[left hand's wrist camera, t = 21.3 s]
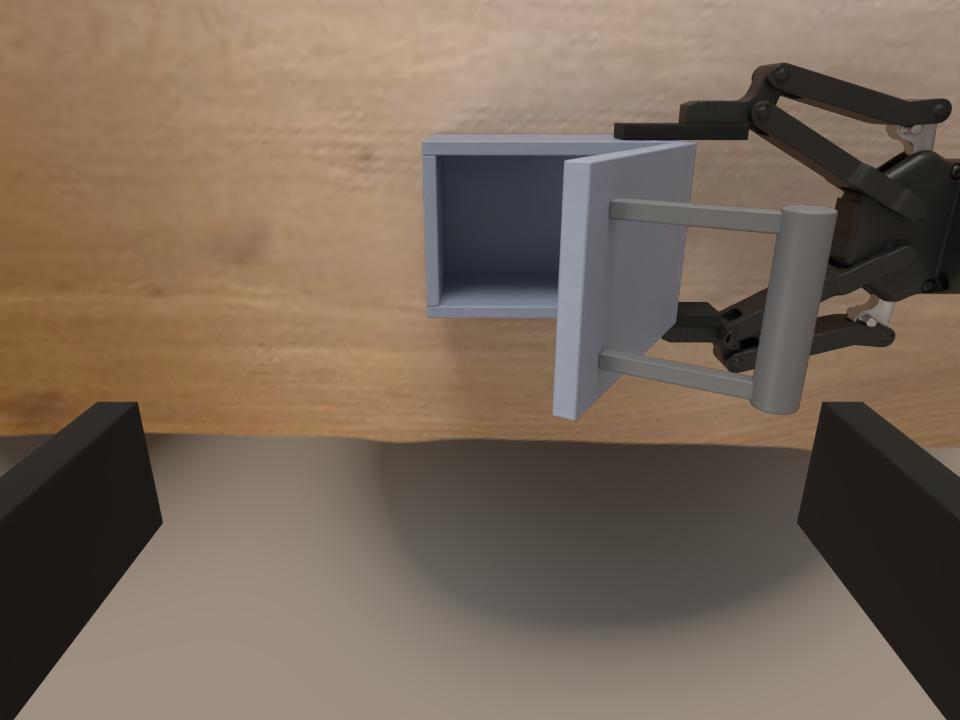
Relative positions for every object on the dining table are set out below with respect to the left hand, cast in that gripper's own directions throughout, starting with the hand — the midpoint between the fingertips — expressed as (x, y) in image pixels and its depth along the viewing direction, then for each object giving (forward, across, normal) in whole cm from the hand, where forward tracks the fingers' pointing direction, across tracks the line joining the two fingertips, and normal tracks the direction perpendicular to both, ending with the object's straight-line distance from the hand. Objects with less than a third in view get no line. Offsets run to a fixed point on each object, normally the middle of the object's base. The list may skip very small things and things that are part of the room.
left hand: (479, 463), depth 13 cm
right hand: (+26, +8, 0) cm, 27 cm away
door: (+18, +6, 0) cm, 19 cm away
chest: (+33, +4, 0) cm, 33 cm away
